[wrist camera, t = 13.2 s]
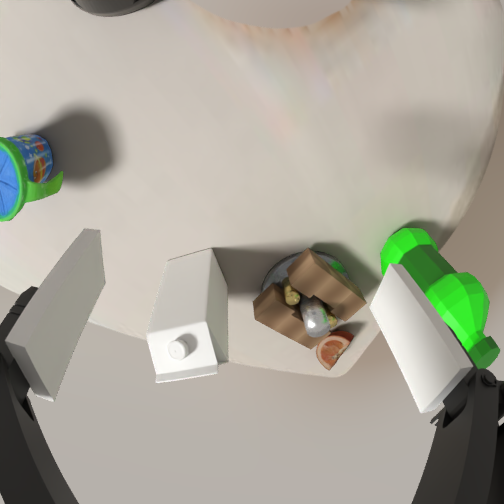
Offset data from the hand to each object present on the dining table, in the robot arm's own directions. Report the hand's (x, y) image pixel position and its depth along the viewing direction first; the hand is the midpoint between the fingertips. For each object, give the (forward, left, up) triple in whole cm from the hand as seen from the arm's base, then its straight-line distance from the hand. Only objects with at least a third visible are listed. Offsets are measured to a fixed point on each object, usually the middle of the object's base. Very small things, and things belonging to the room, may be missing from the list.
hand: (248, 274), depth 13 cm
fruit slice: (+31, +22, -27) cm, 47 cm away
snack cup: (+3, -29, -27) cm, 40 cm away
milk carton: (+19, -3, -27) cm, 33 cm away
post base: (+20, +14, -27) cm, 36 cm away
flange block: (+20, +14, -25) cm, 35 cm away
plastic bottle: (+10, +28, -27) cm, 40 cm away
